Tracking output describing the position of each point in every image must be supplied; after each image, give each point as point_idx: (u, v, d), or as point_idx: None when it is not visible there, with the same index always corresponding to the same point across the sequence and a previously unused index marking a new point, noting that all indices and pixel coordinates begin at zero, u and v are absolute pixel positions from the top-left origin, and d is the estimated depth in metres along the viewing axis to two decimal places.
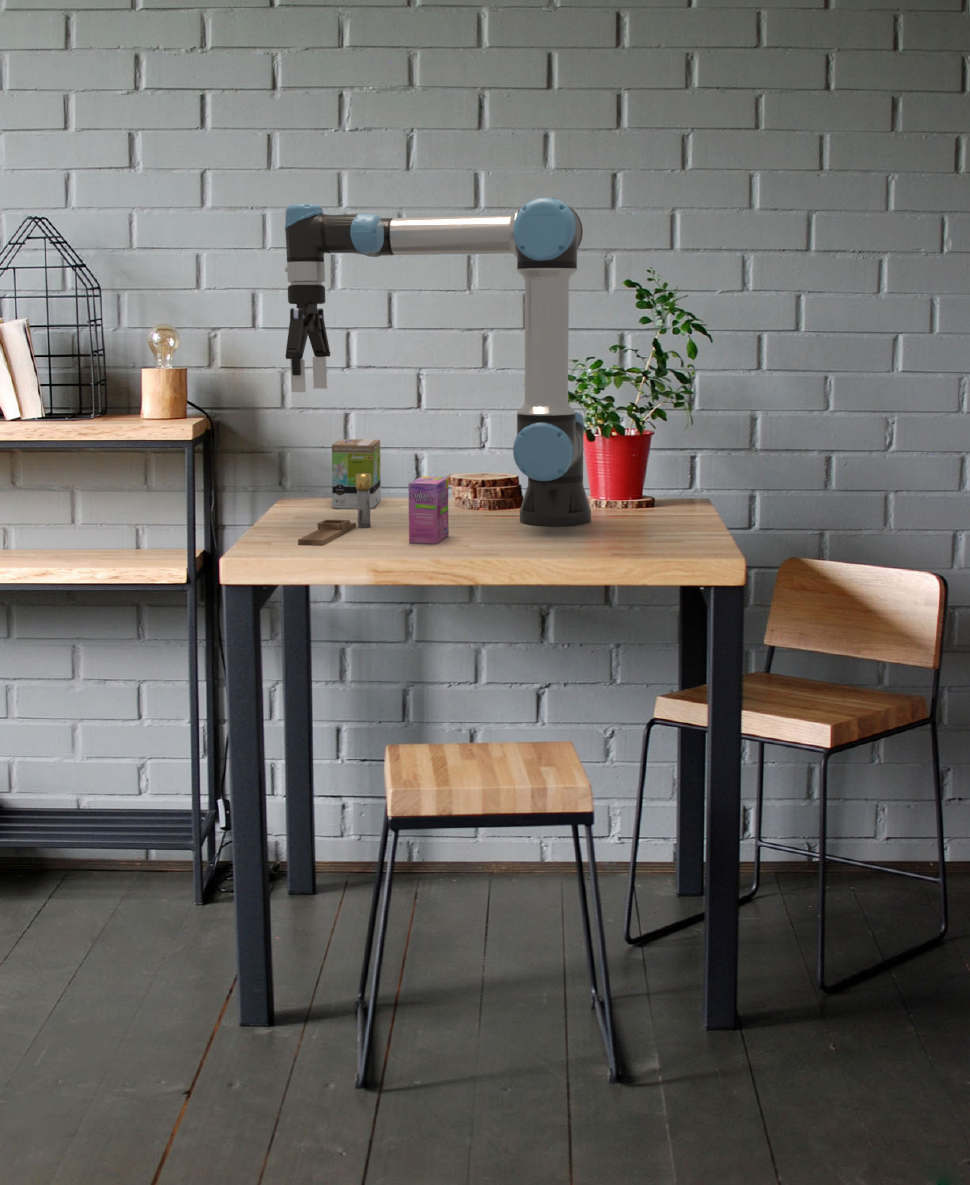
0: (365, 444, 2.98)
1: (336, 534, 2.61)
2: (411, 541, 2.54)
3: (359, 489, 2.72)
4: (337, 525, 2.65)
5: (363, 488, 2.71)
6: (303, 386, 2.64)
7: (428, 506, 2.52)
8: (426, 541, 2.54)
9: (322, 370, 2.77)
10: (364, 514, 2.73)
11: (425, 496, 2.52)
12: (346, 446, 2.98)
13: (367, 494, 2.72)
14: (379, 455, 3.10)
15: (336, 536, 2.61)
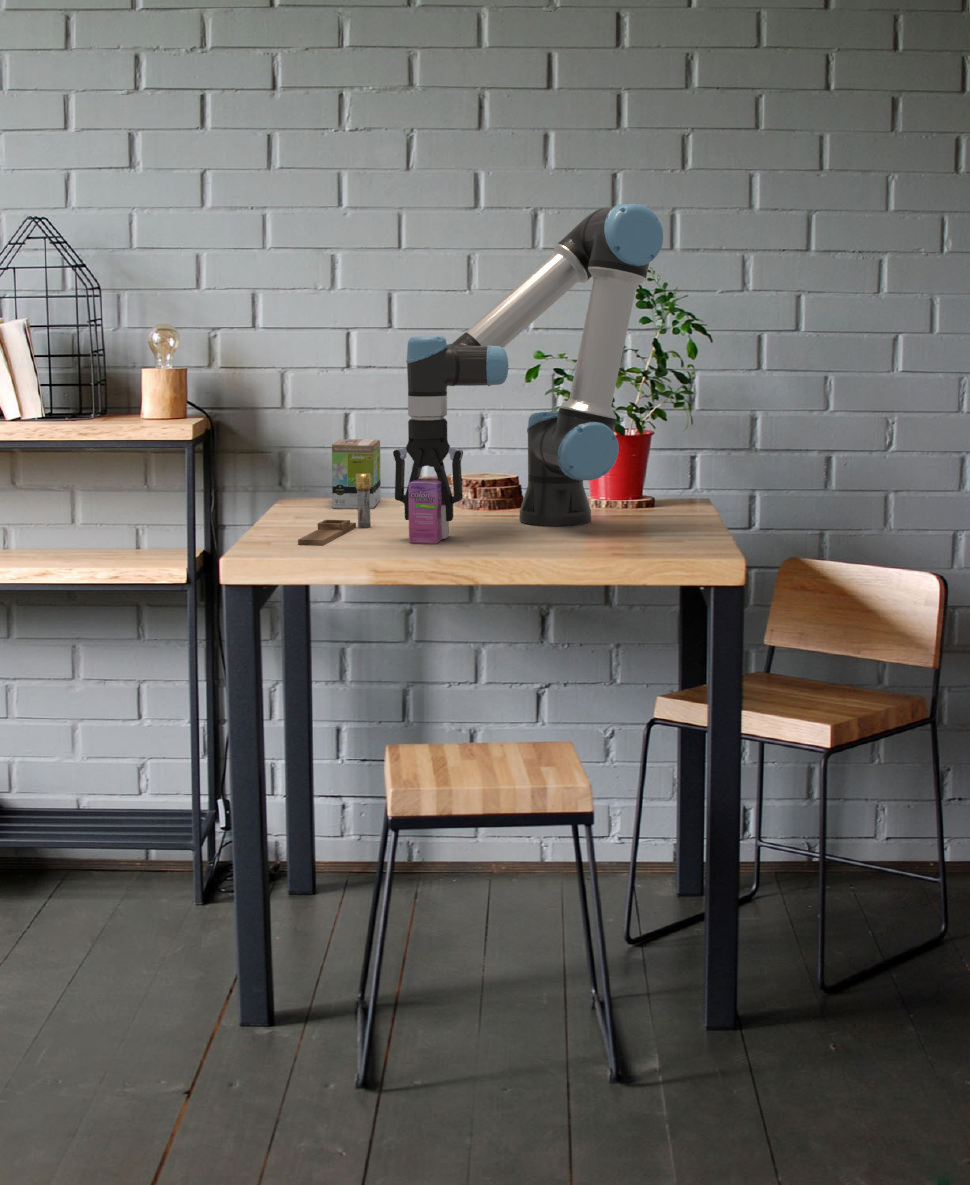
0: (365, 444, 2.98)
1: (336, 534, 2.61)
2: (411, 541, 2.54)
3: (359, 489, 2.72)
4: (337, 525, 2.65)
5: (363, 488, 2.71)
6: None
7: (428, 505, 2.52)
8: (426, 541, 2.54)
9: None
10: (364, 514, 2.73)
11: (425, 496, 2.52)
12: (346, 446, 2.98)
13: (367, 494, 2.72)
14: (379, 455, 3.10)
15: (336, 536, 2.61)
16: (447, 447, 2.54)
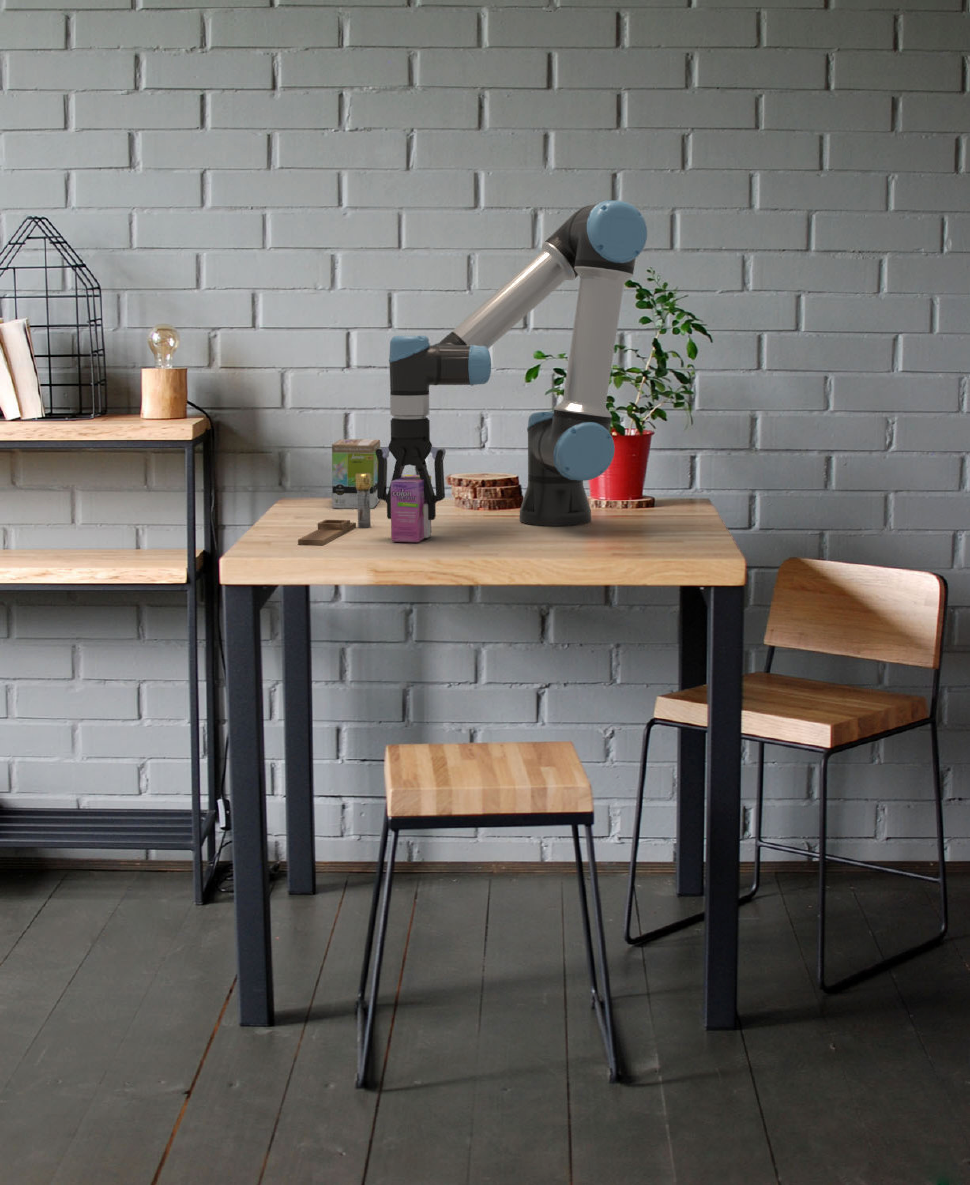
0: (365, 444, 2.98)
1: (336, 534, 2.61)
2: (393, 539, 2.55)
3: (359, 489, 2.72)
4: (337, 525, 2.65)
5: (363, 488, 2.71)
6: None
7: (410, 504, 2.53)
8: (409, 539, 2.54)
9: None
10: (364, 514, 2.73)
11: (407, 494, 2.52)
12: (346, 446, 2.98)
13: (367, 494, 2.72)
14: None
15: (336, 536, 2.61)
16: (429, 446, 2.54)
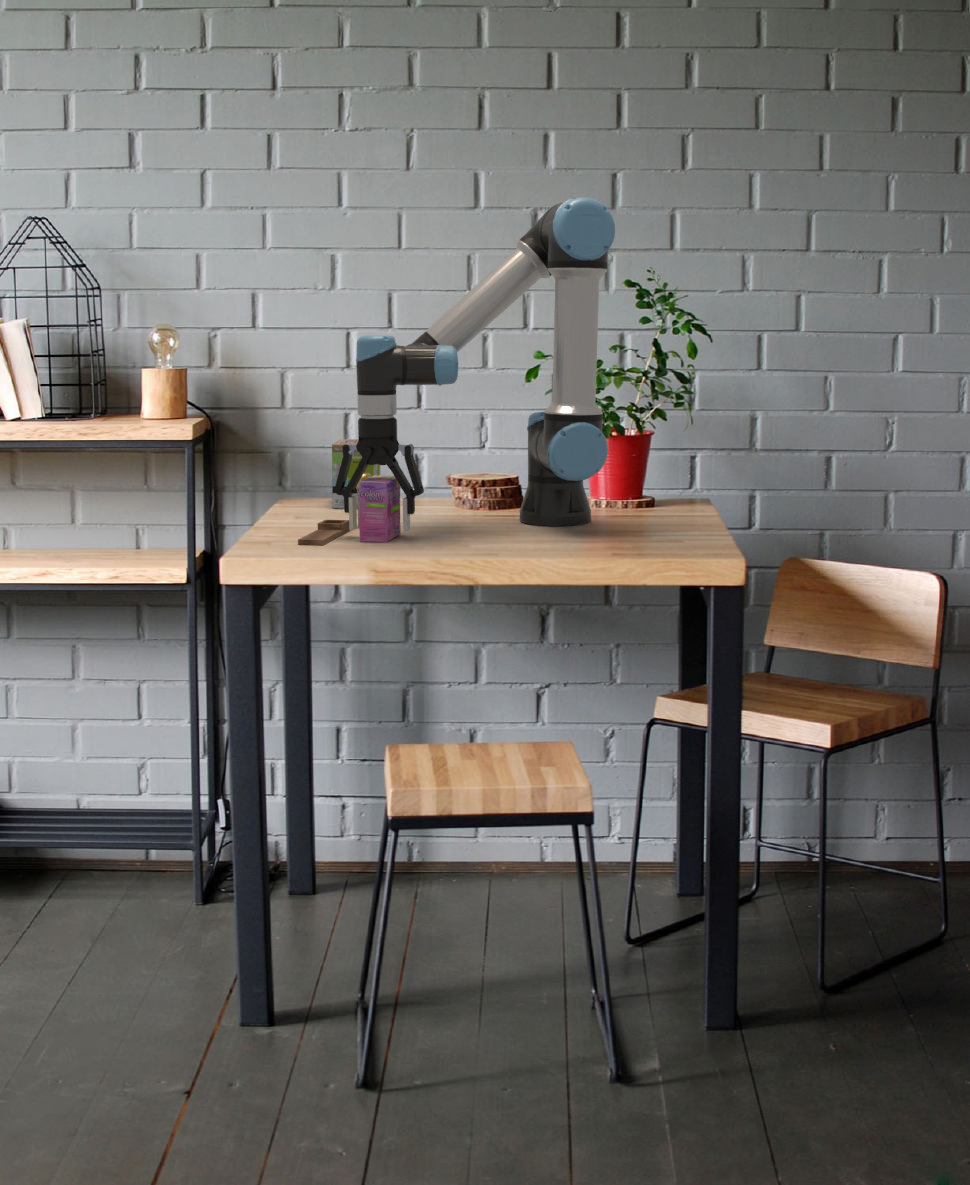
0: None
1: (336, 534, 2.61)
2: (362, 540, 2.56)
3: None
4: (337, 525, 2.65)
5: None
6: None
7: (378, 504, 2.54)
8: (377, 540, 2.56)
9: None
10: None
11: (375, 495, 2.54)
12: None
13: None
14: None
15: (336, 536, 2.61)
16: (396, 444, 2.55)
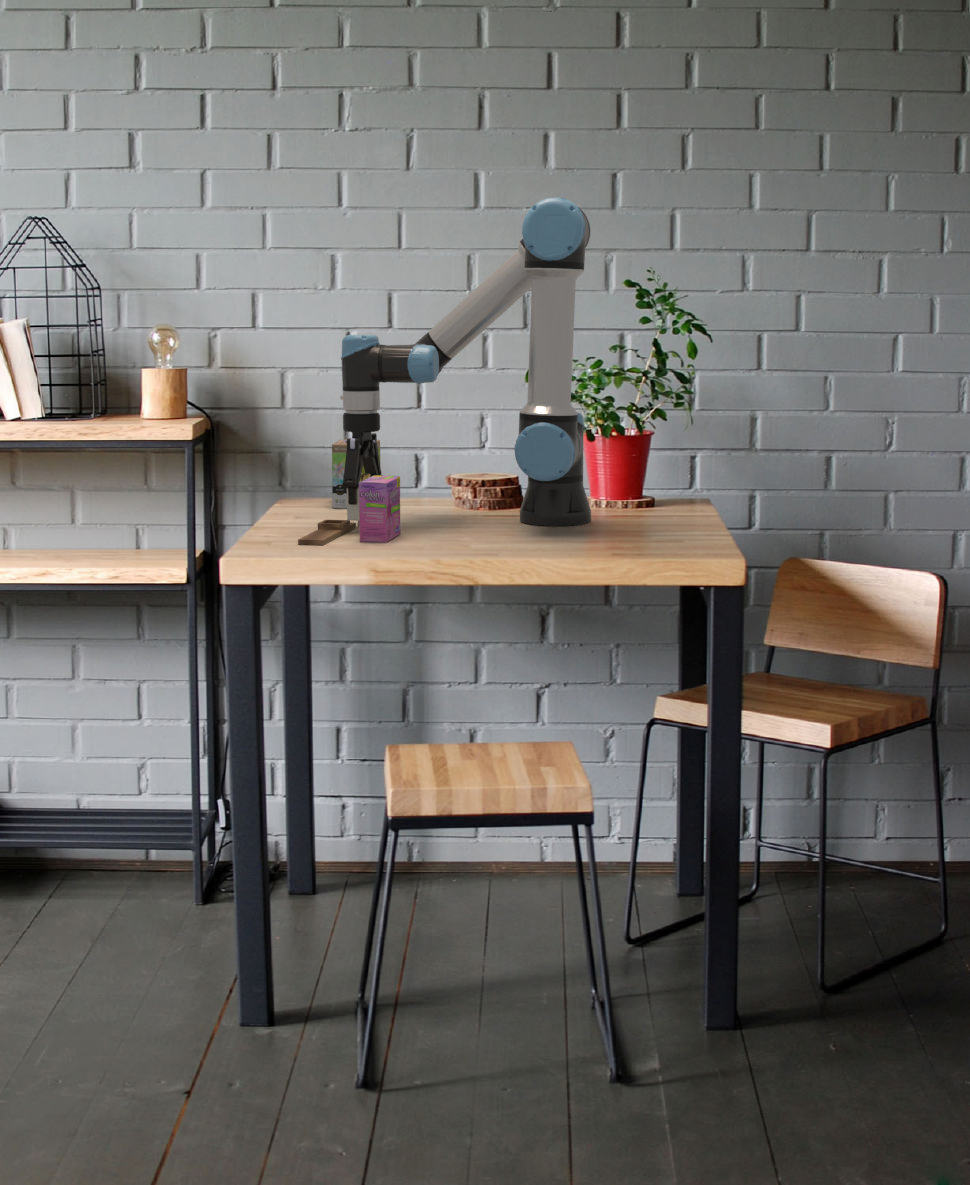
0: None
1: (336, 534, 2.61)
2: (362, 540, 2.56)
3: None
4: (337, 525, 2.65)
5: None
6: None
7: (378, 504, 2.54)
8: (377, 540, 2.56)
9: None
10: None
11: (375, 495, 2.54)
12: (346, 446, 2.98)
13: None
14: (379, 455, 3.10)
15: (336, 536, 2.61)
16: None
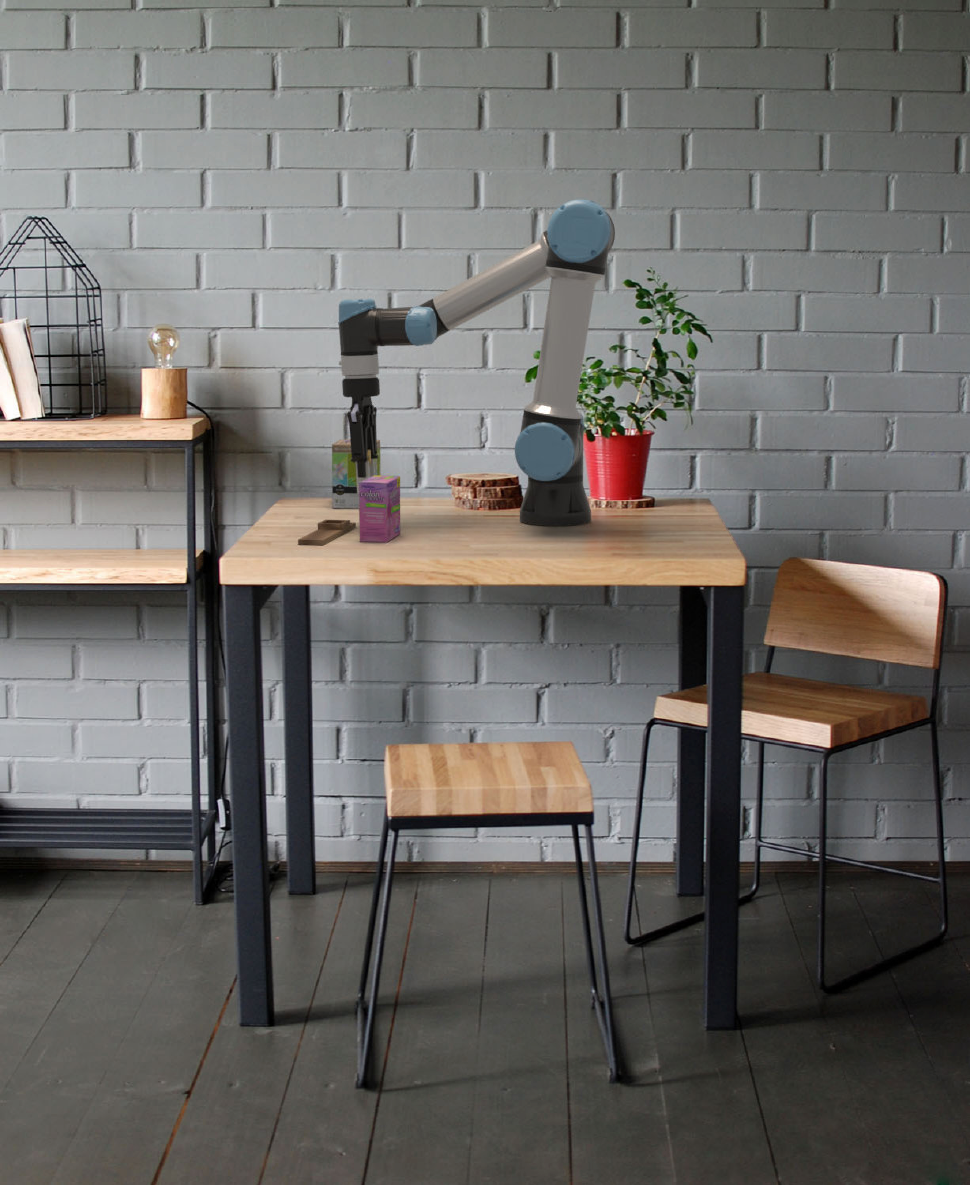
0: None
1: (336, 534, 2.61)
2: (362, 540, 2.56)
3: None
4: (337, 525, 2.65)
5: None
6: None
7: (378, 504, 2.54)
8: (377, 540, 2.56)
9: None
10: None
11: (375, 495, 2.54)
12: (346, 446, 2.98)
13: None
14: (379, 455, 3.10)
15: (336, 536, 2.61)
16: None
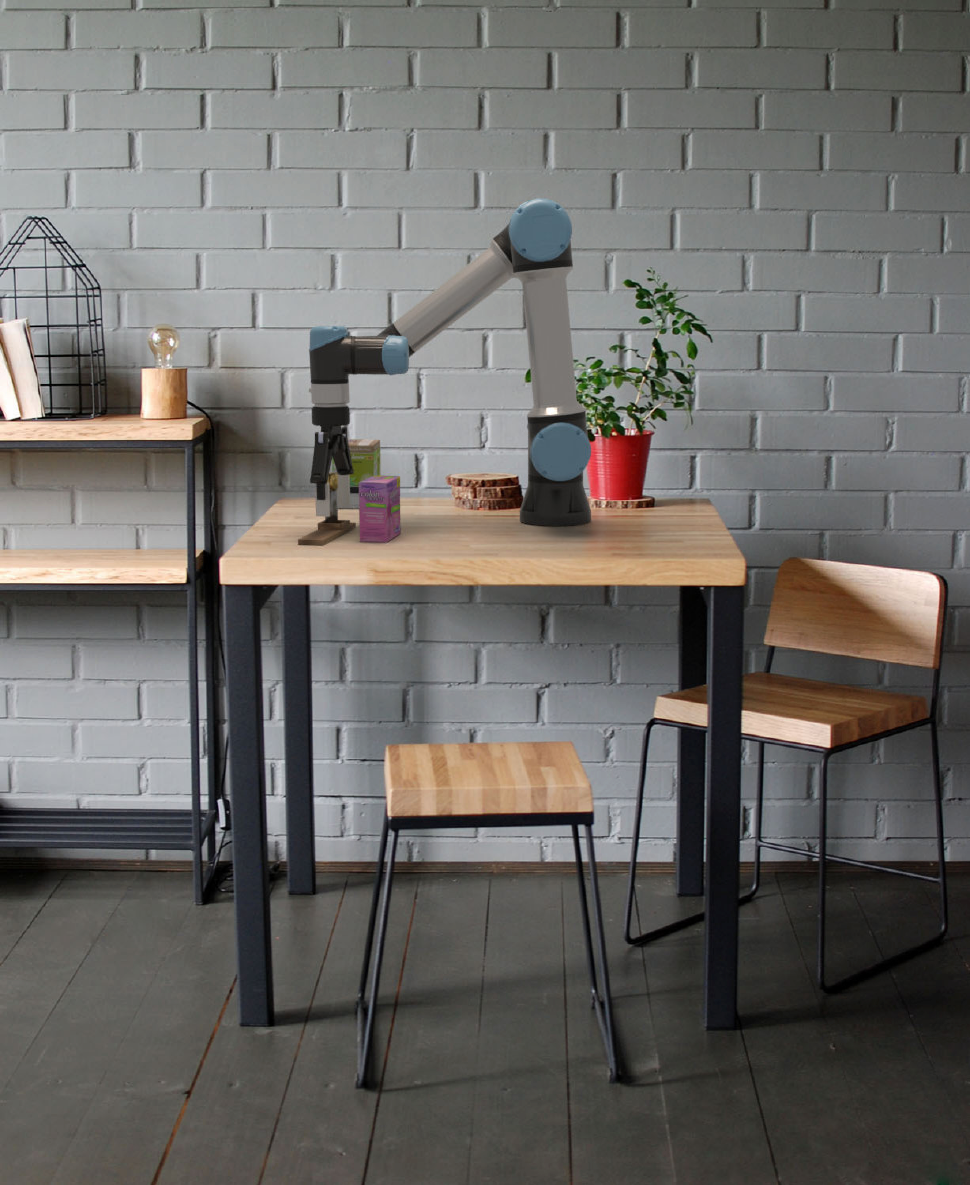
0: (365, 444, 2.98)
1: (336, 534, 2.61)
2: (362, 540, 2.56)
3: None
4: (337, 525, 2.65)
5: (330, 488, 2.65)
6: (328, 510, 2.60)
7: (378, 504, 2.54)
8: (377, 540, 2.56)
9: (345, 488, 2.72)
10: (332, 515, 2.66)
11: (375, 495, 2.54)
12: None
13: (335, 494, 2.65)
14: (379, 455, 3.10)
15: (336, 536, 2.61)
16: None
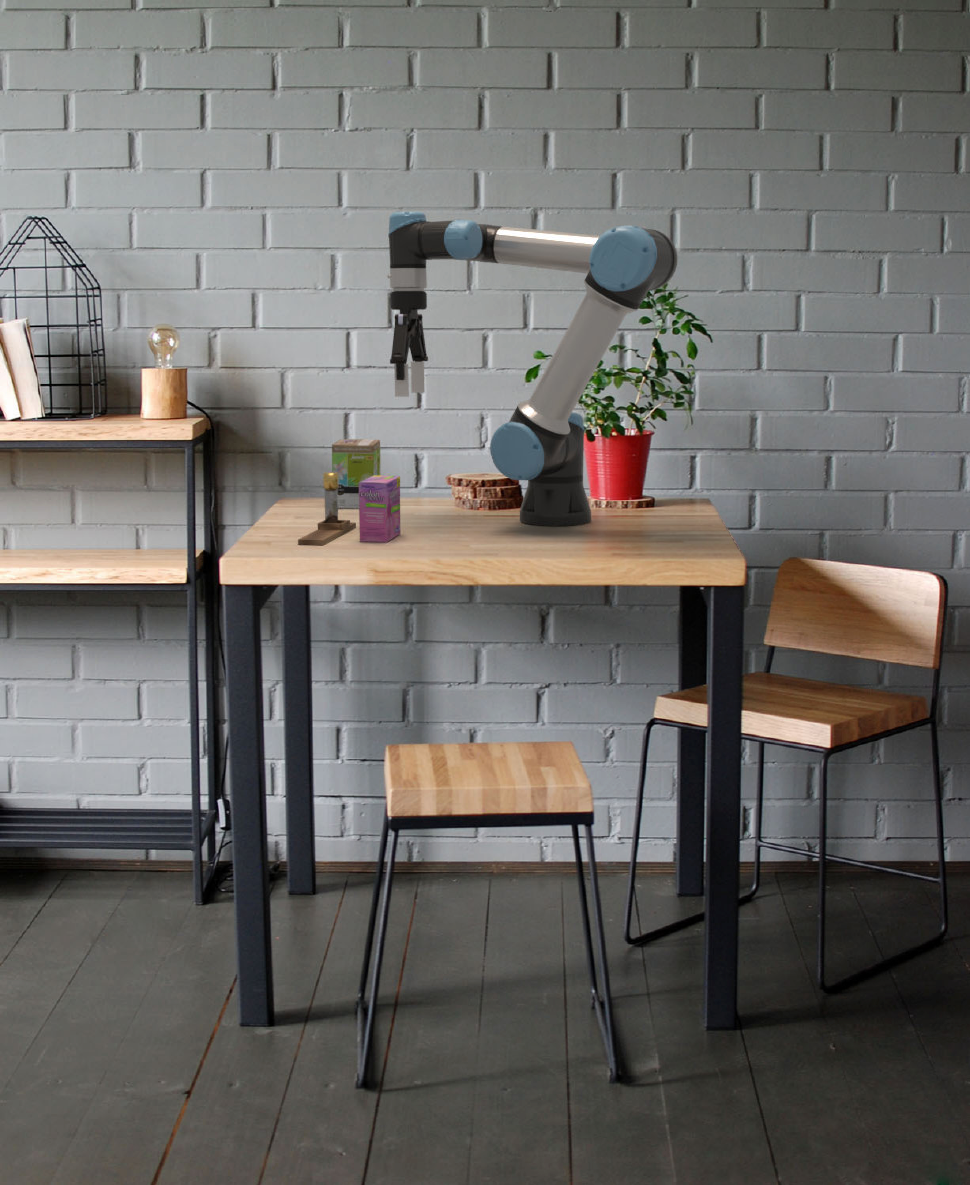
0: (365, 444, 2.98)
1: (336, 534, 2.61)
2: (362, 540, 2.56)
3: (326, 488, 2.65)
4: (337, 525, 2.65)
5: (330, 487, 2.65)
6: (407, 390, 2.69)
7: (378, 504, 2.54)
8: (377, 540, 2.56)
9: (420, 374, 2.81)
10: (332, 515, 2.66)
11: (375, 495, 2.54)
12: (346, 446, 2.98)
13: (335, 493, 2.65)
14: (379, 455, 3.10)
15: (336, 536, 2.61)
16: None
